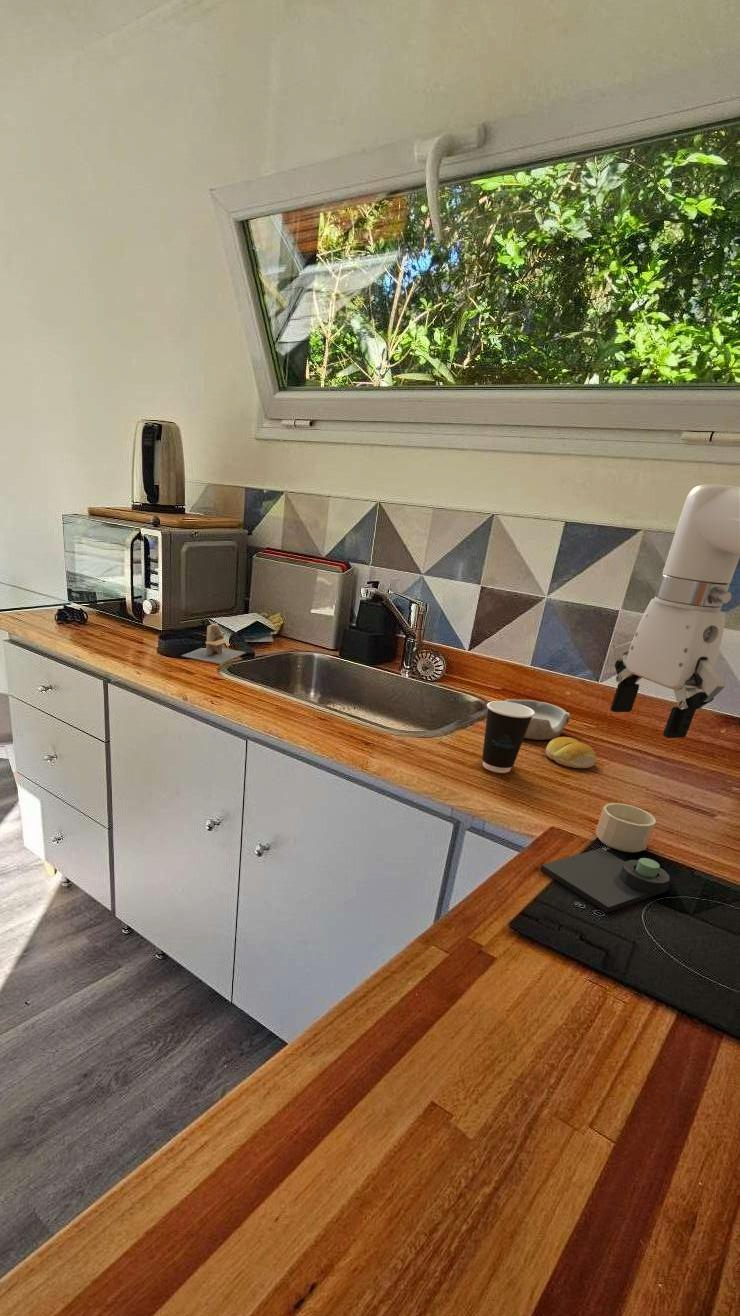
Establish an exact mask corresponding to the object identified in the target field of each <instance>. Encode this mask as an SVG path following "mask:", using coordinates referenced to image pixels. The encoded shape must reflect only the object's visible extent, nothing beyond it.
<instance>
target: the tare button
mask: <svg viewBox="0 0 740 1316" xmlns="http://www.w3.org/2000/svg"><path fill="white" fill-rule="evenodd" d="M638 860H639V861H638V864H637V867H636V872H637V873H639V874H641V875H643V876H646V877H652V878H655V877H656V876H657V873H658V870H659V868H661V865H660V863H658V862H657V861H656V860H654V859H651V858H646V857H641V858H639V859H638Z"/></svg>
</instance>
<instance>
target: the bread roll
mask: <svg viewBox="0 0 740 1316" xmlns="http://www.w3.org/2000/svg"><path fill="white" fill-rule="evenodd" d="M545 755H546V757H548V758H549V759H550V760H552V761H554V762H556V764H559V765H561V766H564V767H567V768H573V769H590V768H592V767H593V766H595V763H596V761H597V759H598V756H597V753H596V752H595V750H594V749H593V748H592V747H591V746H590V745H589V744H586V743H584V742H580V741H579V740H578V739H576V738H573V737H570V736H558V737H556V738H553V739H551V740H550V741H549V742H548V744H547V745H546V746H545Z"/></svg>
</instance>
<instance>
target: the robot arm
mask: <svg viewBox="0 0 740 1316" xmlns="http://www.w3.org/2000/svg"><path fill="white" fill-rule="evenodd" d="M672 538H673V539H672V541H671V544H670V548H669V551H668V555H667V556H666V560H665V563H664V567H663V570H662V573H661V575H660V579H659V582H658V585H657V587H656V588H657V589H656V590H655V595H654V597H653V598H651V599H650V601H649V604H648V605H647V607H646V609H645V610H644V613H643V615H642V617H641V618H640V621H639V624H638V625H637V628H636V630H635V632H634V633H635V634H634V636H633V638H632V641H629V642H626V643H623V644H619V645H617V646H615V648H614V654H615V655H614V656H615V662H614V668H615V669H614V670H615V672H616V674H617V675H616V676H615V681H616V683H618V684H617V687H616V690H615V693H614V697H613V699H612V702H611V706H610V711H611V712H613V713H630V712H632V710H633V707H634V704H635V701H636V698H637V695H638V693H639V689H640V683H638V682H639V681H640V680H641V679H645V680H647V681H649V682H652V683H655V684H657V685H659V686H662V687H665V688H668V689H670V690H673V692H674V696H675V700H676V703H677V706H673V707H672V708H671V711H670V713H669V716H668V719H667V721H666V724H665V727H664V730H663V731H662V732H663V733H662V735H663V737H665V738H667V739H681V738H683V739H684V738H685V737H686V736H687V734H688V732H689V729H690V727H691V724H692V722H693V718H694V716H695V713H696V710H702V708H703V707H704V706H706V705H707V704H709V703H711V702H713V700H714V699H715V697H716V696H717V695H718V694H720V692H721V691H722V690H723V689H725V688H726V681H725V680H724V678H723V677H722V676H721V674H719V673H718V671H717V670H716V669H715V666H716V662H717V659H718V656H719V653H720V649H721V644H722V640H723V635H724V630H725V622H726V612H725V611H722V606H723V604H728V603H729V602H730V601H731V599H732V593H731V592H730V591H728V590H729V588H730V585H731V582H732V579H733V577H734V574H735V571H736V569H737V566H738V563H739V561H740V486H737V485H728V484H727V485H725V484H715V483H714V484H711V483H707V484H700V485H697V486H695V487H693V488H692V489H691V490H690V491H689V493H688V494H687V496H686V498H685V501H684V505H683V507H682V511H681V514H680V517H679V519H678V522H677V526H676V529H675V533H674V535H673V537H672Z"/></svg>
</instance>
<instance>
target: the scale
mask: <svg viewBox="0 0 740 1316" xmlns="http://www.w3.org/2000/svg"><path fill="white" fill-rule="evenodd" d="M638 861H639V859H629V860H623V859H621V858H620V857H617V856H616V855H615V854H612V853H611V852H609V851H607V850H606V849H604V848H601V847H600V848H597V849H593V850H589V851H586V852H582V853H579V854H575V855H572V856H568V857H564V858H561V859H557V860H555V861H554V860H553V861H551V862H547V863H544V864H541V866H540V870H539V871H541V872H542V873H544V874H545V875H547V876H549V877H550V878H552V879H553V880H555V881H556V882H558V883H559V884H561V885H562V886H564V887H565V888H567V889H569V890H570V891H572V892H573V893H575V894H577V896H580V897H581V898H583V899H584V900H586V901H587V902H589V903H591V904H592V905H593V906H595V907H597V908H599V910H601V911H603V912H605V913H607V914H608V913H611V912H614V911H616V910H619V909H622V908H624V907H627V906H630V905H632V904H635V903H639V902H641V901H643V900H646V899H650V898H652V897H655V896H657V895H660V894H663V893H666V892H668V889H669V884H670V879H671V876H670V874H668V872H667V871H666V870H665V869H664V868H661V867H660V868H659V870H658V873H657V876H656V877H655V878H652V877H646V876H643V875H641V874H639V873H637V872H636V867H637V864H638Z"/></svg>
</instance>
